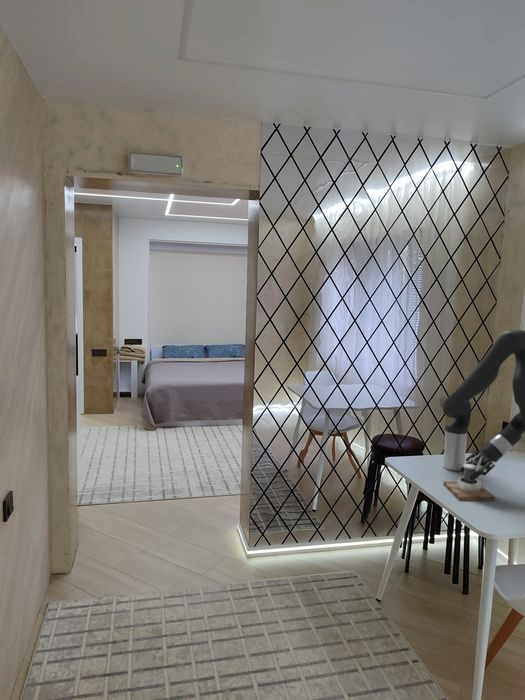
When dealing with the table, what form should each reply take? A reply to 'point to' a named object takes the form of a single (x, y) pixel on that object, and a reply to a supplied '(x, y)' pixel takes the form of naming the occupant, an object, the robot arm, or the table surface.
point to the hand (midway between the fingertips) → (466, 475)
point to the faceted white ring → (468, 486)
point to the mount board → (461, 495)
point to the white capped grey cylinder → (468, 472)
